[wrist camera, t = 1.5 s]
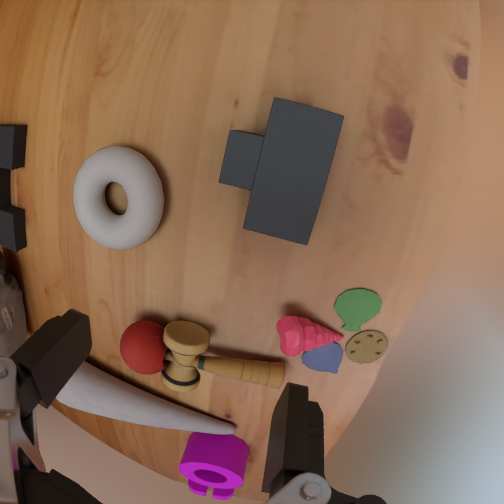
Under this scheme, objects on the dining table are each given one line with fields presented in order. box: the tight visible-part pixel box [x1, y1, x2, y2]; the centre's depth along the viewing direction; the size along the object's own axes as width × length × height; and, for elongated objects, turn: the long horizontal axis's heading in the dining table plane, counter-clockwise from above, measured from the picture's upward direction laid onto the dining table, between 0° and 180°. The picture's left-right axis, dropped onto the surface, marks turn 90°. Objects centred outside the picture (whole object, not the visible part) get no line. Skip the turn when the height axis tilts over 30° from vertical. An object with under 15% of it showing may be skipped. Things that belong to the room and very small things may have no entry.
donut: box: [73, 146, 164, 250], centre depth 26 cm, size 10×3×10 cm
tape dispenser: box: [179, 432, 249, 500], centre depth 40 cm, size 16×10×6 cm, turn 172°
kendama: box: [120, 321, 285, 392], centre depth 31 cm, size 8×6×18 cm
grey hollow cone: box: [56, 361, 236, 435], centre depth 36 cm, size 8×9×26 cm
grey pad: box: [219, 97, 344, 245], centre depth 23 cm, size 10×8×4 cm
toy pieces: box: [277, 289, 388, 374], centre depth 28 cm, size 12×11×4 cm
